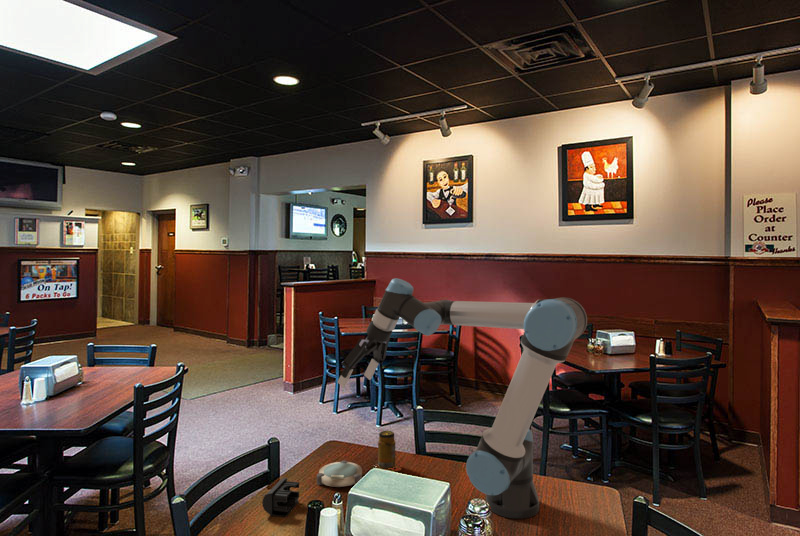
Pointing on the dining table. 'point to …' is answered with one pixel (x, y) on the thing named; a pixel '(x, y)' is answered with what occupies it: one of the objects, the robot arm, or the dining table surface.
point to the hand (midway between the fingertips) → (354, 380)
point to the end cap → (281, 499)
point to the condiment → (386, 450)
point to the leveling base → (339, 474)
